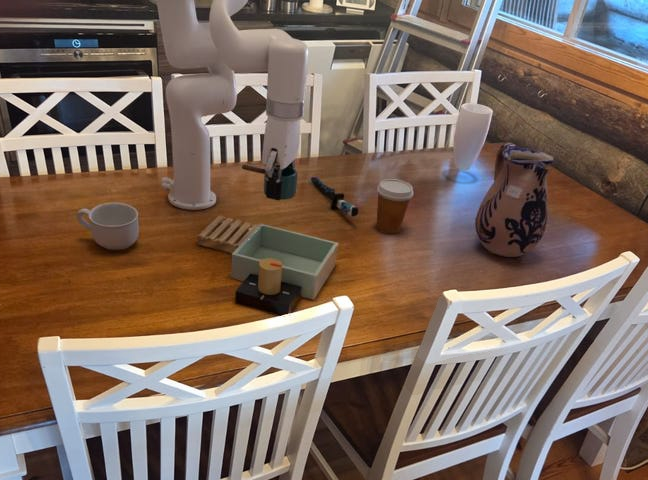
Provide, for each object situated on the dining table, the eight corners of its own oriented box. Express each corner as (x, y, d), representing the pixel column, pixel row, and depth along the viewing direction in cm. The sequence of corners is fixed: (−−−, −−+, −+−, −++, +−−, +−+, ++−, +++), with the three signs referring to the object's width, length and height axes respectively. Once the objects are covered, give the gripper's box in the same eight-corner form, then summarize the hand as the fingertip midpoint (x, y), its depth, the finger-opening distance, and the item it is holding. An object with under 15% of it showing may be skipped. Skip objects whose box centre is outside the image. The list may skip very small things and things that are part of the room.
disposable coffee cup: (410, 226, 171) (419, 184, 163) (398, 240, 164) (407, 197, 156) (377, 216, 173) (385, 175, 166) (365, 229, 166) (372, 187, 159)
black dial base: (234, 304, 133) (234, 291, 131) (250, 283, 140) (251, 271, 138) (287, 318, 131) (288, 306, 129) (301, 297, 138) (302, 285, 136)
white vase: (478, 184, 199) (497, 115, 186) (446, 181, 199) (462, 111, 185) (472, 171, 207) (490, 104, 194) (441, 168, 207) (457, 100, 193)
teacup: (149, 240, 150) (147, 209, 145) (123, 260, 142) (120, 228, 137) (98, 226, 153) (94, 195, 148) (70, 245, 145) (65, 213, 140)
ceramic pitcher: (497, 270, 157) (528, 174, 141) (447, 231, 171) (471, 140, 155) (549, 260, 164) (584, 167, 148) (497, 223, 178) (524, 135, 162)
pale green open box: (231, 278, 141) (231, 254, 137) (259, 246, 154) (260, 223, 150) (313, 300, 137) (316, 276, 134) (335, 265, 150) (338, 242, 146)
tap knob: (254, 291, 132) (255, 265, 128) (262, 280, 136) (264, 254, 132) (275, 297, 131) (277, 271, 127) (283, 286, 135) (285, 260, 131)
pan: (299, 190, 139) (301, 168, 135) (288, 202, 133) (290, 179, 130) (247, 178, 141) (248, 157, 138) (235, 189, 136) (235, 167, 132)
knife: (358, 224, 166) (360, 207, 163) (347, 224, 165) (349, 208, 162) (318, 187, 189) (319, 172, 187) (308, 187, 188) (310, 172, 186)
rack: (196, 246, 150) (195, 234, 148) (217, 225, 159) (217, 214, 158) (242, 258, 148) (243, 246, 146) (261, 236, 157) (262, 225, 155)
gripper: (282, 93, 133) (277, 175, 144) (250, 115, 119) (248, 203, 130) (316, 100, 131) (308, 182, 142) (287, 123, 118) (281, 211, 129)
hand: (279, 191), depth 136 cm, fingers closed on pan, 6 cm apart
